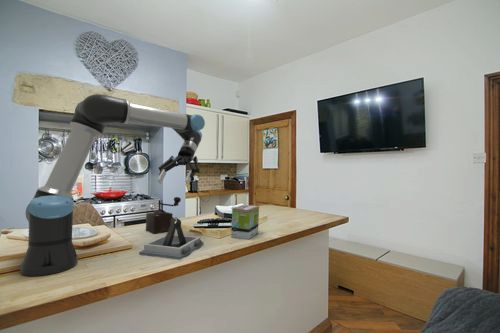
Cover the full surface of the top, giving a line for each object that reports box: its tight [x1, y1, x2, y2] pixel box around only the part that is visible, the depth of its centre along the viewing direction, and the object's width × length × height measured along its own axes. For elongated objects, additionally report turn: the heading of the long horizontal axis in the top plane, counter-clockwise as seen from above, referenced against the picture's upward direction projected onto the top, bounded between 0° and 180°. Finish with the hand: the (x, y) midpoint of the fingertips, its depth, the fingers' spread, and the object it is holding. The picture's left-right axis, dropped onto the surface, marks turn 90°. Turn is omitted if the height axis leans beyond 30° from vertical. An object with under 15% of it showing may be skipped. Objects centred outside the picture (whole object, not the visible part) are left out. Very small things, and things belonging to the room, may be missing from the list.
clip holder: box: [138, 234, 204, 260], centre depth 107 cm, size 19×20×4 cm
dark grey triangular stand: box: [163, 216, 187, 248], centre depth 107 cm, size 9×6×12 cm, turn 120°
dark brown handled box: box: [145, 196, 182, 235], centre depth 140 cm, size 16×11×18 cm
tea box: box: [230, 204, 260, 240], centre depth 133 cm, size 15×10×15 cm, turn 161°
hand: (172, 182), depth 117 cm, fingers open, 13 cm apart
